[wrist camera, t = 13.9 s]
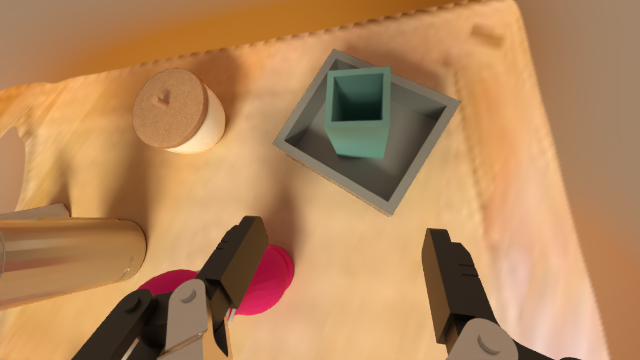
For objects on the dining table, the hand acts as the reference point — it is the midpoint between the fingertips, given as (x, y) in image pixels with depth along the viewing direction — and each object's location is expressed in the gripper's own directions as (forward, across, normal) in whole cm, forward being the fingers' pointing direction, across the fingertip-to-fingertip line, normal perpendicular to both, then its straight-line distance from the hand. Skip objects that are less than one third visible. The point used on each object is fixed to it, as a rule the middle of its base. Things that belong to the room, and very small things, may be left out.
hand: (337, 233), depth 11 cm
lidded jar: (+23, +24, +4) cm, 33 cm away
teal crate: (+20, 0, +4) cm, 21 cm away
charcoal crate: (+21, 0, +5) cm, 22 cm away
